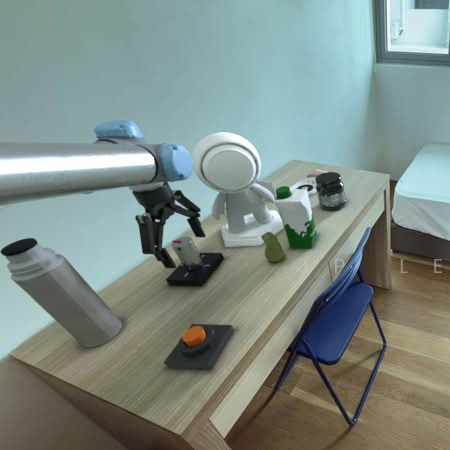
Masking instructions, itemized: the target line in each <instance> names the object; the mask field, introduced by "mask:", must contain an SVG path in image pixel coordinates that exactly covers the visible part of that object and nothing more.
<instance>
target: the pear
mask: <svg viewBox="0 0 450 450" xmlns="http://www.w3.org/2000/svg"><path fill="white" fill-rule="evenodd" d="M261 237H262V239H263V241H264V242H265V243H264V244H265V249H264V257H265V259H266V260H267V261H268V262H271V263H276V262H279V261H280V260H282V259H283V257H284V250H283V246H282V244H281V243H280V242H279V240H278V238H277V236H276V235H274V234H273V233H272V232H266V233H265V234H264V235H262V236H261Z"/></svg>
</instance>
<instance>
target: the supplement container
mask: <svg viewBox="0 0 450 450" xmlns="http://www.w3.org/2000/svg"><path fill="white" fill-rule="evenodd" d="M315 181H316V184H317V185H316V190H317V192H316V194H317V199H318V204H319V207H320V208H321V209H323V210H325V211H336V210H337V211H338V210H340V209H341V208H343V207H344V206H345V205H346V203H347V199H346V192H345V187H344V186H345V184H344V181H342V175H341V174H340V173H339V172H336V171H326V173H322V174H320V175H318V176H317V177H316V179H315Z"/></svg>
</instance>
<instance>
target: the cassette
mask: <svg viewBox="0 0 450 450" xmlns="http://www.w3.org/2000/svg"><path fill="white" fill-rule="evenodd" d="M255 183H256V184H259V185H261V186H262V187H264V188H266V189H267V190H269V191H270V192H271V193H272V194H273V196H274V199H275V200H276V197H277V194H276V189H277V188H276V186H275V183H274V181H268V180H265V179H259V178H258V179H257V180H256V182H255ZM256 194H257V193H256ZM257 195H258V194H257ZM258 196H259V197H260V198H262V197H261V196H260V195H258Z"/></svg>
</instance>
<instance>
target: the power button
mask: <svg viewBox="0 0 450 450" xmlns="http://www.w3.org/2000/svg"><path fill="white" fill-rule="evenodd" d="M182 336H183V340H184V342H185V343H186V344H187V346H189V347H194V346H197V345H199V344H200V343H202V342H203V341H204V340H205V338H206V333H205V331H204V330H203V328H202V327H201V326H194V327H192V328H190V329H189V328H188V329H187V330H186V331H185V332H184V333H183V335H182Z"/></svg>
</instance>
